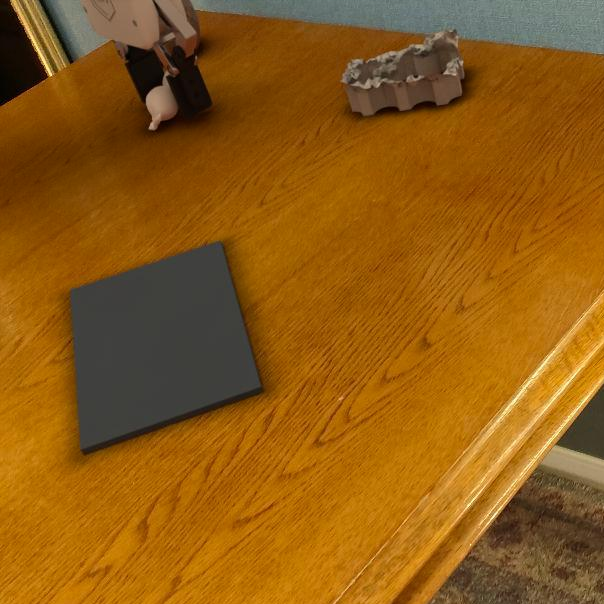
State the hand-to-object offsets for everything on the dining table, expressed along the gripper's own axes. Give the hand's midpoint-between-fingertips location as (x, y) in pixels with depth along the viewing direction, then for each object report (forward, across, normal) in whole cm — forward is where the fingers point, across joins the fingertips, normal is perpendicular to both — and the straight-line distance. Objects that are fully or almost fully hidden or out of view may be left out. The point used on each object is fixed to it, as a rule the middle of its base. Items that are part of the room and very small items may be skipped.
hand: (177, 103), depth 96 cm
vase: (+1, -12, +8) cm, 14 cm away
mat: (+1, +30, -23) cm, 38 cm away
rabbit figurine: (+1, 0, 0) cm, 1 cm away
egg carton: (+1, +20, +12) cm, 23 cm away
